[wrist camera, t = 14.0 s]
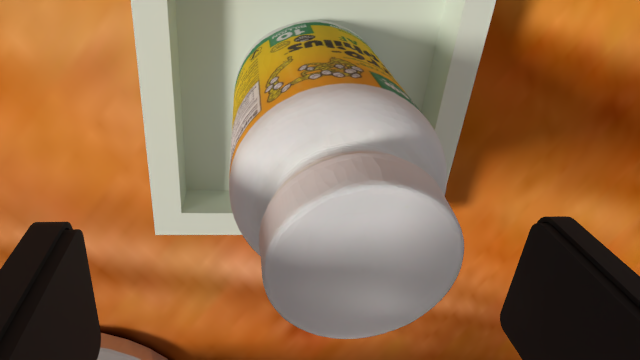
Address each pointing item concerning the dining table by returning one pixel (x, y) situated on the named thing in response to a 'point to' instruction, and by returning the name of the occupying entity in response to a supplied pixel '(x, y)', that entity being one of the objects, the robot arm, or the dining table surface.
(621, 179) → the dining table surface
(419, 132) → the supplement bottle
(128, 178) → the dining table surface
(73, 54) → the dining table surface
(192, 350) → the dining table surface
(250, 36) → the tray
